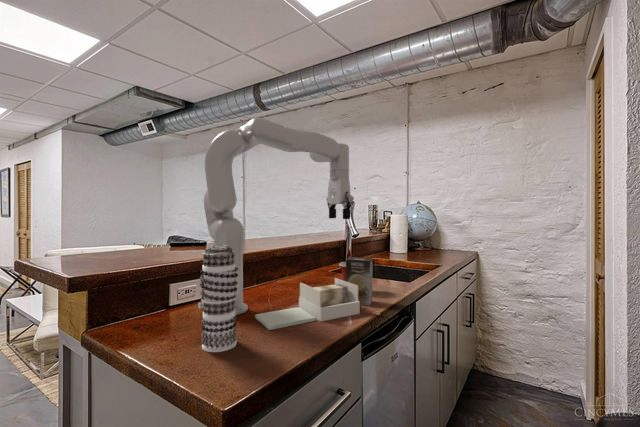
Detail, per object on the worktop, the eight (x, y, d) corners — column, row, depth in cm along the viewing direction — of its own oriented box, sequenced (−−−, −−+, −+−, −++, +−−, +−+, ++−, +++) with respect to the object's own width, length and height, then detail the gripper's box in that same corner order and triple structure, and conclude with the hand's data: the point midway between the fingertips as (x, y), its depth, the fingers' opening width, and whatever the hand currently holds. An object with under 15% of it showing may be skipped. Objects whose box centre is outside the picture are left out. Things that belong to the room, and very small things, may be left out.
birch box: (316, 316, 104) (316, 291, 104) (309, 311, 108) (309, 288, 108) (347, 310, 110) (347, 286, 110) (339, 306, 114) (339, 283, 114)
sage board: (269, 330, 92) (269, 326, 92) (255, 317, 102) (255, 314, 102) (315, 320, 100) (315, 317, 100) (297, 310, 110) (297, 307, 110)
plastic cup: (339, 287, 141) (339, 260, 141) (365, 288, 139) (365, 260, 139) (337, 294, 130) (337, 264, 130) (365, 295, 129) (365, 265, 128)
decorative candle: (240, 349, 79) (240, 247, 79) (200, 355, 76) (199, 249, 76) (236, 335, 88) (236, 243, 88) (200, 340, 85) (199, 245, 84)
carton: (320, 321, 99) (320, 292, 99) (298, 308, 112) (298, 282, 112) (359, 313, 106) (359, 286, 106) (335, 302, 119) (335, 277, 119)
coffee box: (344, 303, 118) (344, 259, 117) (348, 298, 124) (348, 256, 123) (369, 305, 115) (369, 260, 114) (372, 301, 121) (373, 257, 120)
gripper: (320, 176, 134) (319, 218, 135) (344, 173, 119) (344, 219, 120) (335, 177, 138) (335, 217, 138) (360, 174, 123) (360, 219, 124)
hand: (339, 218), depth 129 cm, fingers open, 9 cm apart
